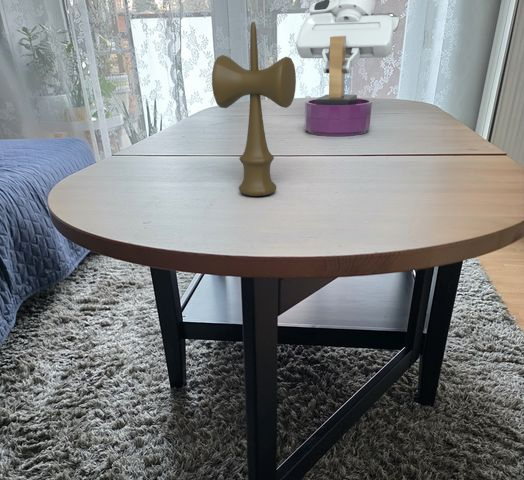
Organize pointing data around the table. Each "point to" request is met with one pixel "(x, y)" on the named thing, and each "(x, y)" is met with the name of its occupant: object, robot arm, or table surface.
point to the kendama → (254, 108)
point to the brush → (337, 75)
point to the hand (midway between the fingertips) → (336, 71)
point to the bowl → (338, 118)
